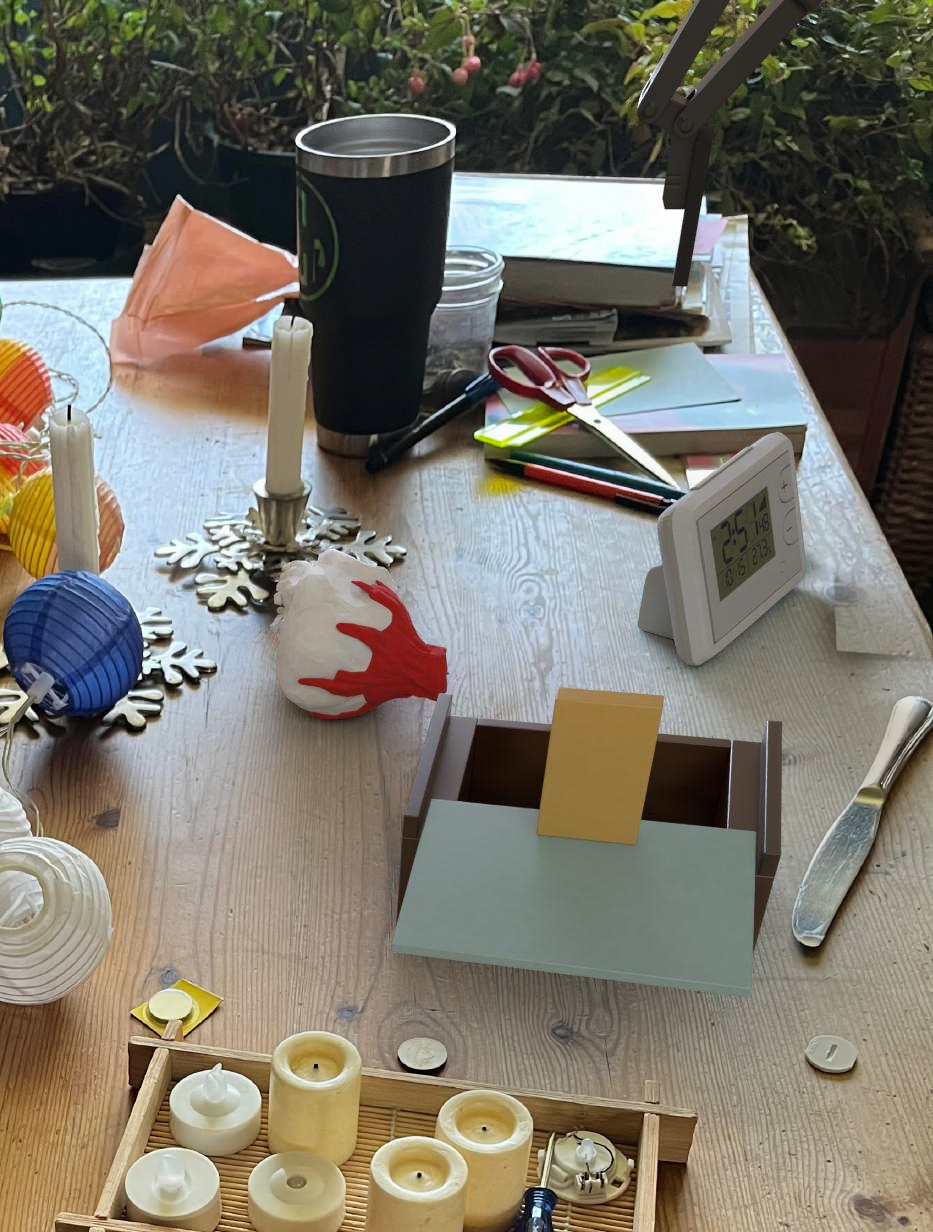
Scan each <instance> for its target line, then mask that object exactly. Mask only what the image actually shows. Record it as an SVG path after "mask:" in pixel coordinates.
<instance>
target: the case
mask: <svg viewBox="0 0 933 1232" xmlns="http://www.w3.org/2000/svg"><path fill="white" fill-rule="evenodd" d="M453 696H454V695H453V694H452V693H445V694H444V693H439V695H438V699H437V702H436V701H435V706H434V709H433V713H432V716H431V719H430V723H429V726H428V730H427V733H426V736H425V741H424V743H423V747H422V750H421V753H420V757H419V761H418V764H417V767H416V771H415V774H414V778H413V782H412V785H411V788H410V792H409V795H408V799H407V802H406V804H405V805H406V806H405V809H404V813H403V817H402V818H403V819H402V830H401V831H402V832H401V847H400V859H399V862H400V863H399V876H398V889H397V891H398V892H397V903H396V905H397V906H396V918H395V919H396V921H395V926H396V925H397V921H398V918H399V914H400V911H401V907H402V903H403V900H404V896H405V892H406V889H407V885H408V881H409V878H410V874H411V870H412V867H413V863H414V859H415V856H416V852H417V848H418V845H419V841H420V837H421V834H422V830H423V826H424V823H425V819H426V816H427V812H428V808H429V805H430V801H431V799H438V800H448V801H458V802H468V803H477V804H487V805H497V806H507V807H517V808H527V809H537V810H540V803H541V796H542V789H543V782H544V775H545V768H546V761H547V754H548V747H549V740H550V733H551V726H552V723H544V722H543V723H542V722H532V721H522V720H509V719H498V718H486V717H474V716H463V715H462V716H461V715H453V714H452V707H453ZM764 727H765V728H764V731H763V736H762V739H761V741H750V740H749V741H748V740H738V739H732V740H731V739H728V738H717V737H704V736H695V735H694V736H693V735H682V734H671V733H670V734H669V733H659V732H658V736H657V741H656V746H655V751H654V756H653V761H652V766H651V771H650V776H649V781H648V786H647V791H646V796H645V801H644V807H643V812H642V817H641V820H646V821H656V822H666V823H676V824H685V825H695V826H705V827H715V828H725V829H735V830H745V831H755V832H756V861H755V897H754V933H753V954H754V953H755V949H756V946H757V942H758V939H759V936H760V932H761V928H762V925H763V922H764V917H765V914H766V910H767V907H768V903H769V899H770V896H771V894H772V893H771V892H772V889H773V885H774V881H775V879H776V878H775V877H776V874H777V872H778V868H779V864H780V861H781V857H782V812H783V811H782V810H783V809H782V805H783V803H782V800H783V799H782V797H783V795H782V794H783V792H782V791H783V721H780V720H766V724H765V726H764Z"/></svg>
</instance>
